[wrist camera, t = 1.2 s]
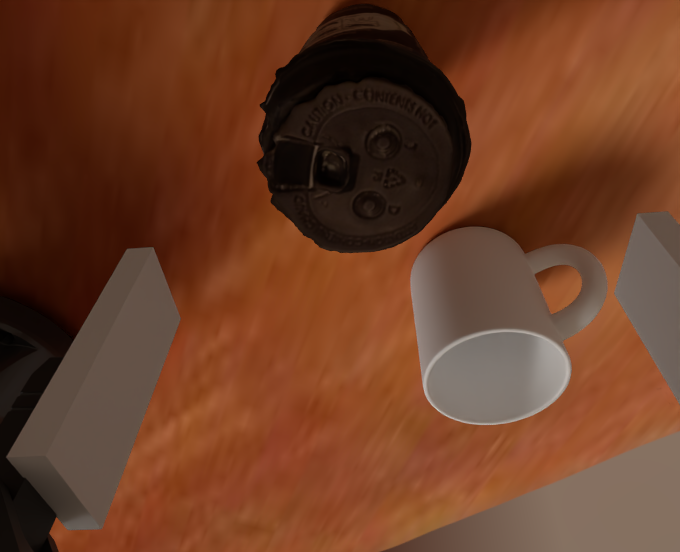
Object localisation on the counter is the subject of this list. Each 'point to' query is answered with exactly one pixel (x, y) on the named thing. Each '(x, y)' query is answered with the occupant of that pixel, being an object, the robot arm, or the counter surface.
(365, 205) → the coffee cup
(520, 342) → the mug
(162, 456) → the counter surface
